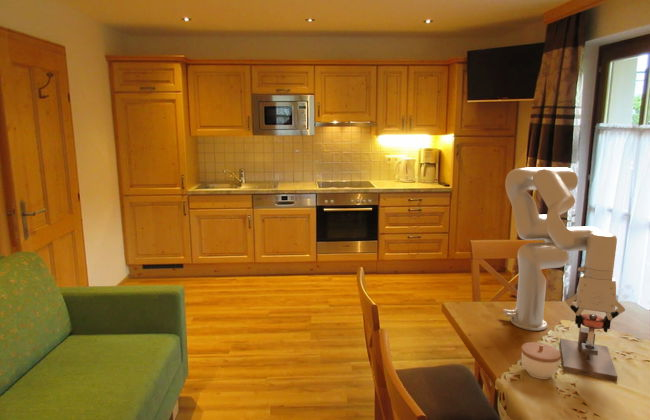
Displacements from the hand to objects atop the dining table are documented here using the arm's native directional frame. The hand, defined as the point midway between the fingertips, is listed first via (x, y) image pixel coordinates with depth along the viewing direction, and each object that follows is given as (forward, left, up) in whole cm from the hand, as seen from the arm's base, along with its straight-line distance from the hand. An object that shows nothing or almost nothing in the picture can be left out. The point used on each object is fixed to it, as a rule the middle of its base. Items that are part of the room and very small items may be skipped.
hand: (591, 327), depth 138 cm
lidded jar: (-14, -11, -13) cm, 22 cm away
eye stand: (0, +4, -13) cm, 13 cm away
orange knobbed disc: (0, 0, -10) cm, 10 cm away
